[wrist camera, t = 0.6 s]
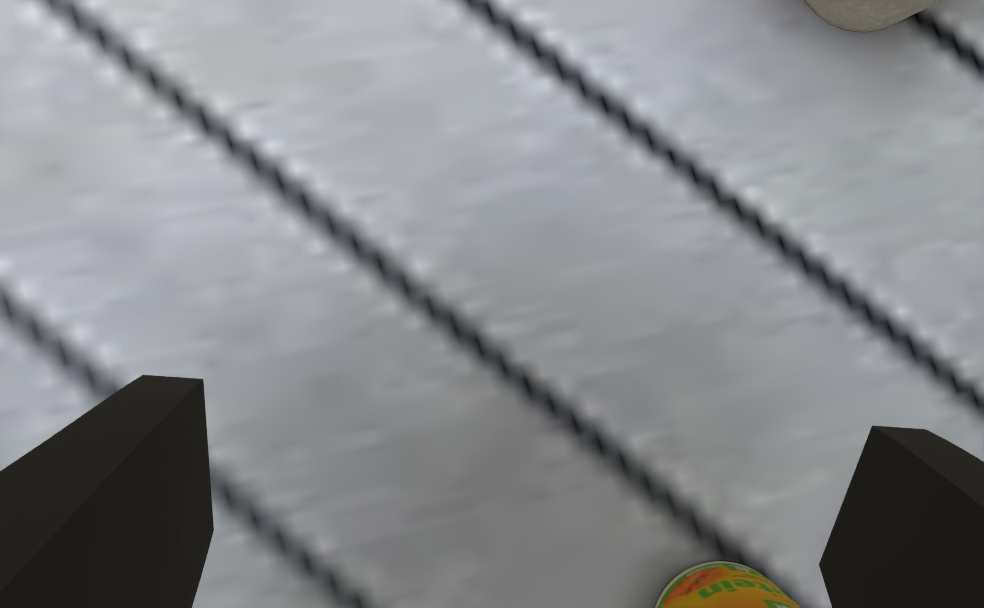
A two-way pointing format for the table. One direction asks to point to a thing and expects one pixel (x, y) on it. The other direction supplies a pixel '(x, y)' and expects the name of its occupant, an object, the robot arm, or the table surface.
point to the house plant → (867, 12)
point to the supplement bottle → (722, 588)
